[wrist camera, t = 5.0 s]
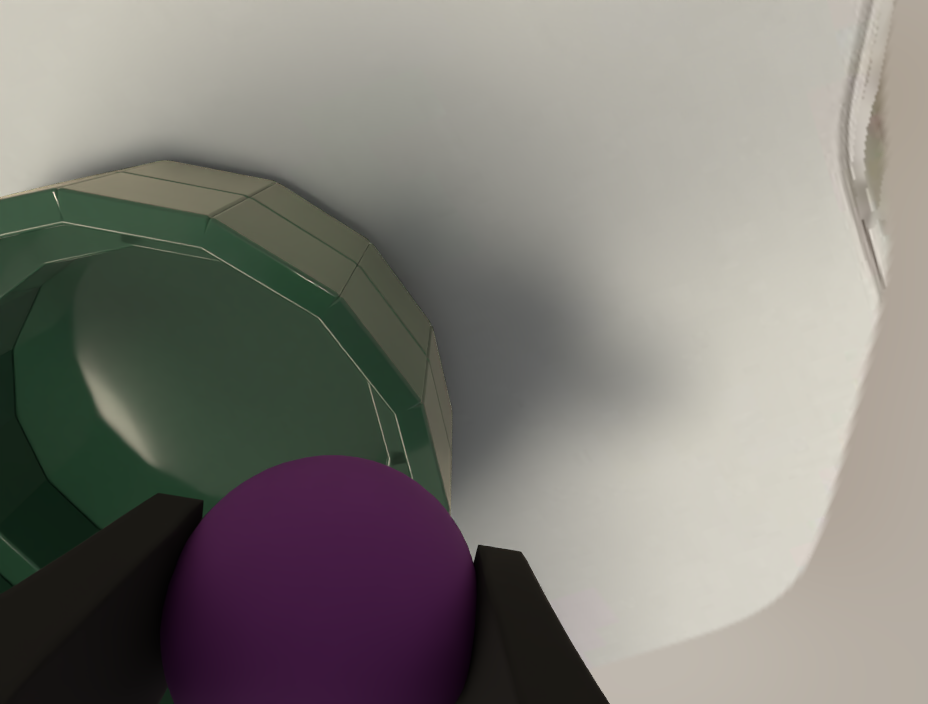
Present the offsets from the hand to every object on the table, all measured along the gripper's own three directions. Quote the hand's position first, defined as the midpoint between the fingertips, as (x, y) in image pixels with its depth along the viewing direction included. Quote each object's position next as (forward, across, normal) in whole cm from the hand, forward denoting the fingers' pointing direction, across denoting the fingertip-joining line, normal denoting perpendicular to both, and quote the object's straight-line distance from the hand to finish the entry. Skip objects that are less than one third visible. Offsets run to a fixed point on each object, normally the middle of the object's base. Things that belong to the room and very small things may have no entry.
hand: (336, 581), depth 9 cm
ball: (-1, 0, 0) cm, 1 cm away
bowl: (+8, +4, +2) cm, 10 cm away
